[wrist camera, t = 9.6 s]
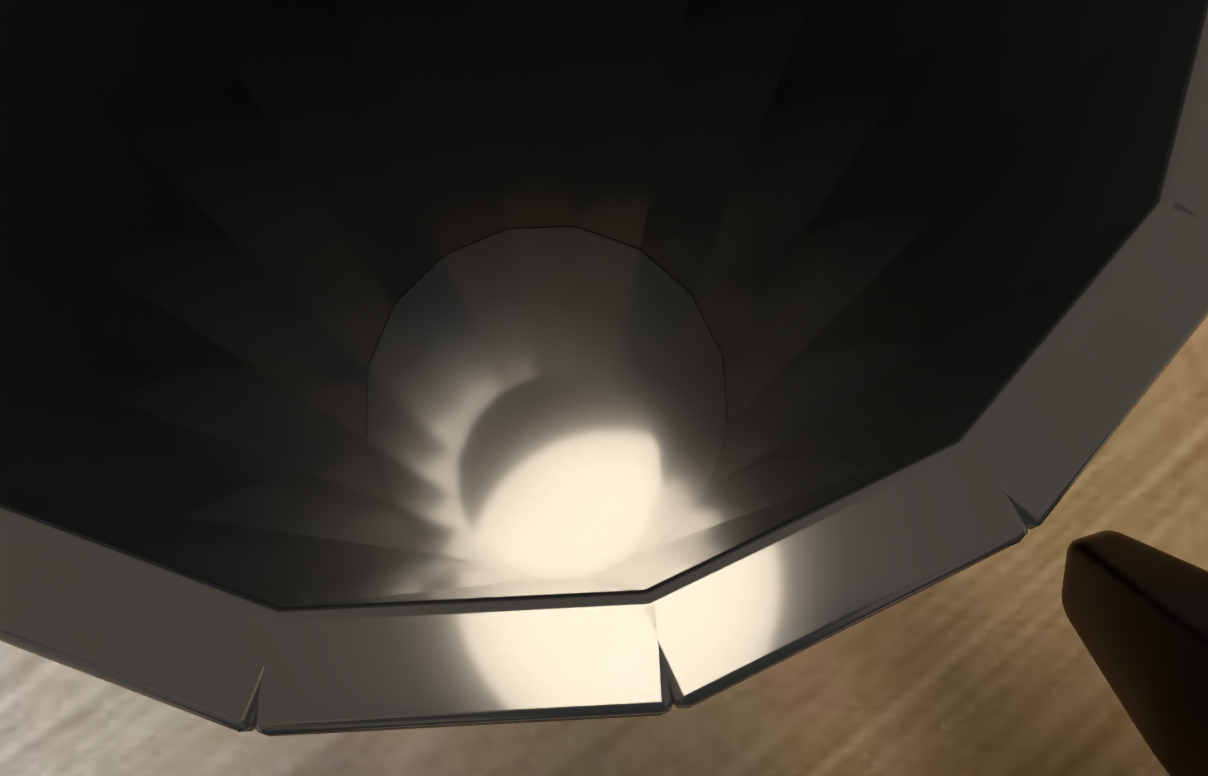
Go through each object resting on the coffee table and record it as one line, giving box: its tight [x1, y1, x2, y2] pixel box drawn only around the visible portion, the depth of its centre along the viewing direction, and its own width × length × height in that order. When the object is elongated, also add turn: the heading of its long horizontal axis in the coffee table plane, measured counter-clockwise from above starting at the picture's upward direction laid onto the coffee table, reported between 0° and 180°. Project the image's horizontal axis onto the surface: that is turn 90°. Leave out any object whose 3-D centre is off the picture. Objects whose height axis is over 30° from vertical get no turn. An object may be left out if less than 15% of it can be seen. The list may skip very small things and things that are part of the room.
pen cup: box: [0, 0, 1208, 736], centre depth 10 cm, size 7×7×13 cm
